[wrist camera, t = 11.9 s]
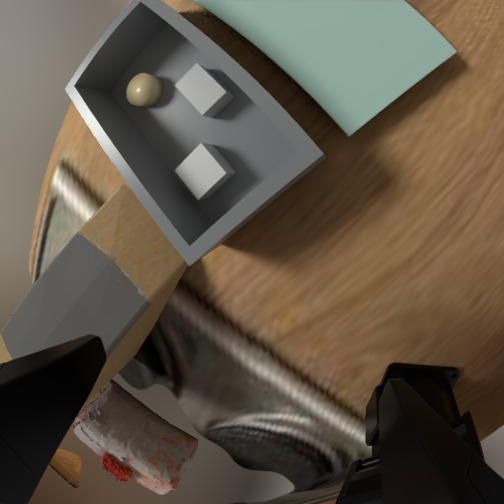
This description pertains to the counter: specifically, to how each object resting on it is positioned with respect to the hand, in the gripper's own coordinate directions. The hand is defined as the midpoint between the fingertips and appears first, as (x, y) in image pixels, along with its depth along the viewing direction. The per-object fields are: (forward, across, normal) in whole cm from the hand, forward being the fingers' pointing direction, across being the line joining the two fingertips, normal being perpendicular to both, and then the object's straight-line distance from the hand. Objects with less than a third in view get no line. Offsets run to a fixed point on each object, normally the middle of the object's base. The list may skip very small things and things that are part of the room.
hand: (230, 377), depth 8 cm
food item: (+13, +14, +23) cm, 30 cm away
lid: (+12, -2, -16) cm, 21 cm away
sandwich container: (+13, +13, +4) cm, 19 cm away
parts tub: (+12, +6, -9) cm, 16 cm away
